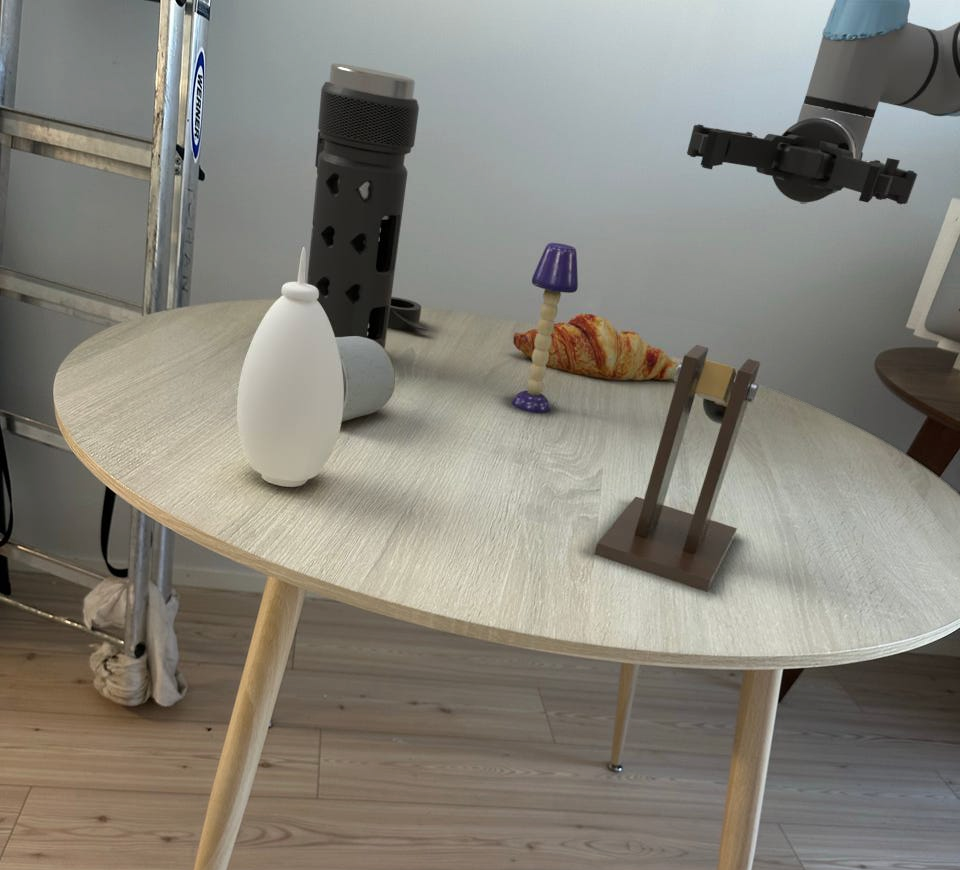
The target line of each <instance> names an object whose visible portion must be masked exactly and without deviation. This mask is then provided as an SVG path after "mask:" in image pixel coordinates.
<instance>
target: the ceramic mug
mask: <svg viewBox="0 0 960 870" xmlns="http://www.w3.org/2000/svg"><path fill="white" fill-rule="evenodd" d="M335 339H336V342H337V346H338V350H339V355H340V360H341V366H342V373H343V385H344V402H343V414H342V421H341V423H344V422H347V421H350V420H353V419H356V418H360V417H365V416H368V415H371V414H374V413H375V412H377V411H379V410H381V409H382V408H383V407H385V405H387V404H388V402H389V401H390V400H391V398H392V396H393V394H394V390H395V386H396V371H395V365H394V362H393V360H392V358H391V357H390V354H389V352H388V351H387V350H386V348H385V349H384V348H383V347H382V346H381V345H380V344H378V343H377V342H375V341H374V340H371V339H368V338H364V337H359V336H348V337H335Z"/></svg>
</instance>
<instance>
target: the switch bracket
mask: <svg viewBox="0 0 960 870" xmlns="http://www.w3.org/2000/svg"><path fill="white" fill-rule="evenodd" d="M708 352H709V347H707V346H703V345H700V344H695V345H694V346H693V347H692V348H691V349H689V351H688V352H686V353H685V354H684V355H683V358H682V362H681V361H680V362H678V364H679V365H678V367H677V370H676V373H675V376H674V377H673V381H674V382H676V383H675V387H674V390H673V394H672V397H671V402H670V405H669V408H668V411H667V416H666V419H665V423H664V426H663V430H662V434H661V437H660V440H659V445H658V448H657V452H656V455H655V459H654V463H653V466H652V470H651V473H650V477H649V480H648V483H647V488H646V491H645V494H644V498H642V497H639V496H634V498H633V499H632V500H631V502H630V503H629V504H628V505H627V507H626V508H625V509H624V510H623V511H622V512H621V514H620V515H619V516H618V517H617V519H616V520H615V521H614V522H613V523H612V525H611V526H610V527H609V528H608V529H607V530H606V532H605V533H604V534H603V535H602V537H601V538H600V539H599V540H598V541H597V543H596V546H595V549H594V553H593V554H594V556H597V557H601V558H604V559H607V560H610V561H613V562H616V563H618V564H622V565H625V566H628V567H631V568H634V569H637V570H640V571H643V572H646V573H649V574H652V575H655V576H658V577H661V578H664V579H667V580H670V581H673V582H676V583H679V584H682V585H685V586H688V587H691V588H694V589H696V590H700V591H703V592H705V593H706V592H708V591H709V589H710V587H711V584H712V583H713V581H714V578H715V576H716V575H717V573H718V570H719V569H720V567H721V564H722V563H723V561H724V559H725V557H726V555H727V553H728V550H729V549H730V547H731V545H732V543H733V541H734V539H735V536H736V532H737V530H738V528H737V527H734V526H732V525H728V524H724V523H721V522H719V521H715V520H712V517H713V514H714V510H715V507H716V505H717V501H718V497H719V496H720V492H721V490H722V489H721V488H722V486H723V482H724V479H725V476H726V472H727V470H728V467H729V463H730V461H731V456H732V455H733V451H734V448H735V444H736V441H737V438H738V435H739V432H740V428H741V426H742V423H743V420H744V416H745V413H746V410H747V407H748V404H749V403H753V402H754V401H755V398H756V395H757V392H758V389H759V383H757V382H755V381H756V379H757V375H758V372H759V369H760V365H761V362H760V361H758V360H755V359H751V358H747V359H746V361H744V362H743V364H742V365H741V366H740V367H739V369H738V370H737V372H736V377H735V380H734V385H733V388H732V392H731V395H730V398H729V401H728V405H727V408H726V411H725V414H724V418H723V421H722V424H720V428H719V431H718V435H717V437H716V440H715V443H714V447H713V451H712V454H711V457H710V460H709V464H708V467H707V469H706V473H705V477H704V480H703V483H702V486H701V489H700V493H699V496H698V499H697V503H696V506H695V509H694V511H693V514H692V513H689V512H687V511H683V510H680V509H678V508H674V507H670V506H667V505H664V504H665V501H666V497H667V493H668V490H669V487H670V483H671V479H672V476H673V473H674V469H675V466H676V462H677V460H678V455H679V452H680V449H681V445H682V443H683V438H684V435H685V432H686V428H687V424H688V421H689V418H690V414H691V412H692V407H693V404H694V400H695V398H696V397H695V396H696V395H697V394H696V392H695V390H696V387H697V384H698V381H699V378H700V375H701V372H702V369H703V366H704V363H705V360H707V355H708Z"/></svg>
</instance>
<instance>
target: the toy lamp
mask: <svg viewBox="0 0 960 870" xmlns="http://www.w3.org/2000/svg"><path fill="white" fill-rule="evenodd" d="M577 253H578V252H577V249H576V247H574V246H572V245H568V244H564V243H560V242H549V243H548V244H546V246H545V248H544V250H543V252H542V255H541V256H540V259H539V260H538V263H537V265H536V268H535V271H534V273H533V275H532V278H531V284H532V285H533V286H535V287H537V288H540V289H543V290H544V291H543V296H542V299H543V300H542V301H543V303H542V304H541V306H540V312H539V313H540V314H539V315H540V318H539V320H538V323H537V326H536V327H537V328H536V329H537V330H538V334H537V335H536V337H535V343H534V344H535V349H534V351H533V354H532V358H531V361H532V363H531V365H530V367H529V378H528V381H527V384H526V390H523V391H520V392H518V393H517V394H516V395H515V396H514V397H513V398H512V400H511V405H512V406H513V407H514V408H516V409H518V410H521V411H523V412H526V413H527V412H528V413H532V414H547V413H549V412H550V411H551V405H550V402H549V399H548V398H547V397H546V396H545V395H544V394H543V393H542V392H543V389H544V379H545V377H546V374H547V366H546V364H547V362H548V359H549V352H548V350H549V348H550V346H551V341H552V339H551V334H552V333H553V330H554V324H555V319H556V317H557V315H558V304H559V303H560V300H561V295H562V293H567V294H571V293H572V294H573V293H576V292H577V291H578V287H579V280H578V275H579V274H578V273H579V272H578V254H577Z"/></svg>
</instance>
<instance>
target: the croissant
mask: <svg viewBox="0 0 960 870" xmlns="http://www.w3.org/2000/svg"><path fill="white" fill-rule="evenodd" d="M537 334H538V330H537V328H533V329H530V330H528V331H526V332H523V333H522V332H514V333H513V338H512V339H513V345H514V347H515V348H516V349H517V350H518V351H520V352H522V354H524V355H525V357H527V358H530V359H532V354H533V351H534V349H535V344H534V343H535V337H536V335H537ZM551 339H552V341H551V346H550V348H549V350H548V352H549V359H548V362H547V364H546V367H548V368H551V369H556V370H561V371H566V372H568V373H570V374H573V375H578V376H579V375H580V376H586V377H587V376H588V377H591V378H599V379H603V380H612V381H613V380H614V381H628V380H634V381H644V380H645V381H650V380H652V379H653V380H656V381H666V380H670V379H672V378H674V377H675V373H676V370H677V367H678V365H679V362H677V361H673V360H672V359H671V358H670V357H669V356H668V354H667V353H666V352H664V350H663V349H662V348H655V347H652V346H651V344H650V343H648V342H646V341H645V340H643V338H642V336H640V335H639V333H638V332H634V331H628V330H624V329H621V332H618V330H617V329H616V328H615V326H614V323H612V322H611V321H610V320H609V319H607V318H605V317H602V316H599V315H596V314H592V313H579V314H577V315H576V316H575V317H573V318H572V317H571V318H570V319H569V321H568V322H567V323H566V322H562V321H561V322H557V323H554V330H553V333H552V334H551Z"/></svg>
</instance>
